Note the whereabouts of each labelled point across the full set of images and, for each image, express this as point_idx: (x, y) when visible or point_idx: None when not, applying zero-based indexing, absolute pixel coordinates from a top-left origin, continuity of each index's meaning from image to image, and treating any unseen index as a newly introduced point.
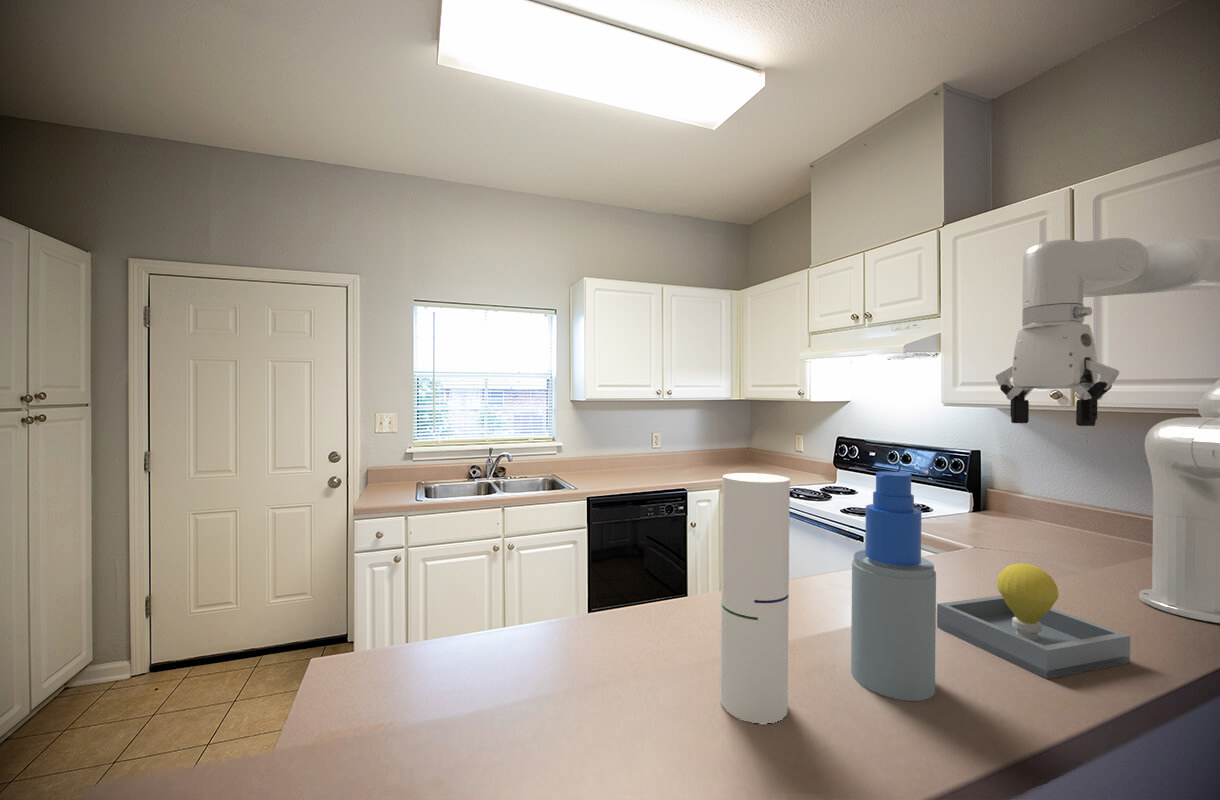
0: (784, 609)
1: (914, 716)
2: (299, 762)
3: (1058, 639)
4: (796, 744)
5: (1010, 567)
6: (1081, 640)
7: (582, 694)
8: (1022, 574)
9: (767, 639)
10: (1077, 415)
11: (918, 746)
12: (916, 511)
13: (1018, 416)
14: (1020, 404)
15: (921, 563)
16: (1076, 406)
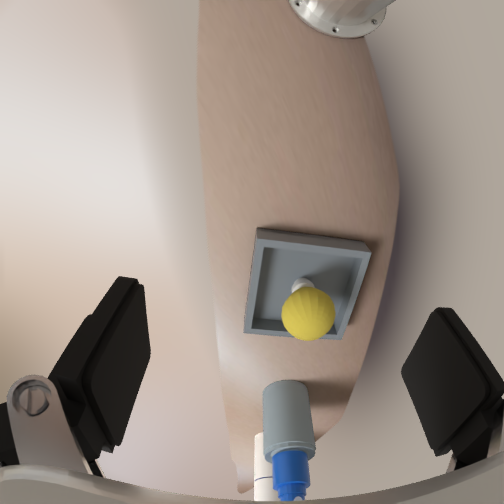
0: None
1: (312, 404)
2: (240, 489)
3: (320, 266)
4: None
5: (299, 337)
6: (350, 301)
7: (235, 462)
8: (314, 339)
9: None
10: (415, 401)
11: (324, 413)
12: (306, 484)
13: (142, 366)
14: (117, 410)
15: (300, 446)
16: (424, 431)
